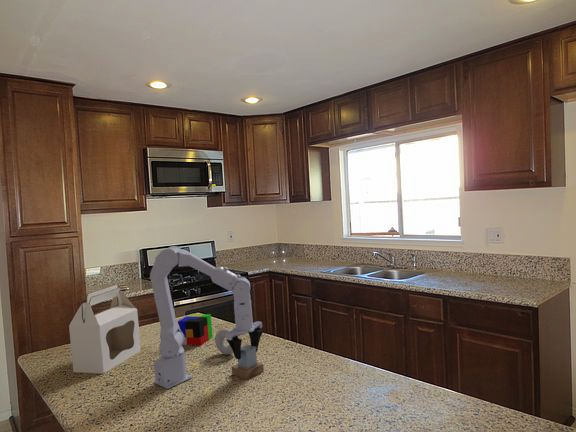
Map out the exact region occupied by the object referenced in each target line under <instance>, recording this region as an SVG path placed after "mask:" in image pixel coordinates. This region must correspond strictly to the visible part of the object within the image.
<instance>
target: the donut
mask: <svg viewBox="0 0 576 432" xmlns="http://www.w3.org/2000/svg"><path fill="white" fill-rule="evenodd" d="M231 330H232V329H230V328H227V327H226V328H225V327H224V328H221V329H220V330H218V331H217V333H216V335H215V338H214V339H215V341H214V342H215V346H216V348H217V350H218V351H219V352H220V353H221V354H223V355H226V356H229V355H232V354H233V355H234V353H233V350H232V348H231V346H230V345H229V344H228V345H227V344H226V342H225V339H226V333H228V332H230V331H231Z"/></svg>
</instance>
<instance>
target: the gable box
mask: <svg viewBox="0 0 576 432" xmlns="http://www.w3.org/2000/svg"><path fill="white" fill-rule="evenodd" d="M110 299H112V300H111V304H110V307H109V308H108V309H105V310H102V311H100V312H97V313H95V312H94V310H93V308H92V306H94V305H97V304H100V303H102V302H105V301H108V300H110ZM138 315H139V314H138V309H137V307H136V306H135V305H134V304H133V303H132V301H131V300H130V299H129V298H128V297H127V296H126V294H124V292H123V291H122V290H121V287H118V285H117V284H113V285H110V286H108V287H104V288H101V289H98V290H95V291H91V292H89V293H87V294H86V297H85V302H83V303H81V305H80V306H79V307H78V309H77V311H76V313H75V315H74V316H73V318H72V320H71V321H70V323H69V325H68V329H69V331H68V332H69V339H70V350H71V360H72V369H73V370H72V371H73V373H80V374H81V373H83V374H97V375H98V374H99V375H103V374H106V373H107V372H109V371H110V370H112V369H113V368H115V367H117V366H118V365H120V364H122V363H124V362H125V361H126V360H128V359H130V358H131V357H133V356H135V355H136V354H138V353H139V352H141V339H140V329H139V328H140V327H139V316H138Z"/></svg>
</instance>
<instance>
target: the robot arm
mask: <svg viewBox="0 0 576 432" xmlns="http://www.w3.org/2000/svg"><path fill="white" fill-rule="evenodd" d="M176 266H178V268H179V267H190V268H192V269H195V270H196V271H199V272H201V273H203V274H205V275H207V276H209V277H210V278H211V282H212V283H214V284H216V285H218V286H219V287H221V288H223V289H225V290H227V291H229V292H231V293H232V295H233V300H234V301H233V311H234V322H235V328H232V329H230V330H231V331H230V332H228V333H226V337H225V340H226V341H227V342H226V343H228V346H229V345H230V346H231V348H232V350H233V355H234V359H235V360H238V359H241V347H242V343H243V339H241V338H239V337H240V336H242V335H245V334H247V333H248V336H249V340H250V345H251V346H255V347H256V353H257V352H258V350H259V344H260V340H261V337H262V336H263V333H264V332H263V329H262V328H263V322H262V321H257V320H256V321H254V319H253V309H252V307H253V306H252V299H251V298H252V297H251V294H250V293H251V282H250V281H249V279H247V278H246V276H241V275H240V274H239V273H238V274H235V273H234V272H232V271H230V270H229V268H228V267H227V266H224V267H223V266H218V267H216V266H214V265H212V264H210V263H208V261H207V262H206V261H205V260H203V259H202V258H200V257H199V256H197V255H195V254H193V253H191V251H188V250H186V249H182V248H181V247H180V246H178V245H171V246H169V247H167V248H166V249H163V250H161V251H160V252H159V253H158V254H157V255H156V257H155V258H154V262H153V266H152V268H151V269H150V273H149V278H150V282H151V286H152V292H153V297H154V301H155V306H156V311H157V315H158V320H159V324H160V331H159V339H160V340H159V341H160V343H159V347H158V348H159V352H160V354H161V356H160V357H159V358H157V359H155V361H154V363H153V366H154V379H155V381H154V384H156V385H159V386H161V387H162V388H164V389H170V388H172V387H175V386H177V385H179V384H182V383H183V382H186V381H188V380H190V379H192V378H193V376H192V375H189V374H188V373H187V368H186V367H187V366H186V355H185V349H184V348H183V345H182V344H183V342H184V339H185V338H184V334H183V333H182V331H181V330H180V327H179V325H178V321H177V318H176V313H175V310H174V304H173V300H172V294H171V290H170V285H169V280H168V275H169V274H170V273H171V271H172V270H173V268H174V267H176ZM253 321H254V322H253Z"/></svg>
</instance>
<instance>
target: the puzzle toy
mask: <svg viewBox="0 0 576 432" xmlns="http://www.w3.org/2000/svg"><path fill="white" fill-rule="evenodd" d="M177 323H178V325H179V327H180V330H181V331H182V333H183V334H184V338H185V339H184V342H183V344H182V346H202V345H204V344H206V343H207V342H208V341H209V340H211V339H212V338H213V324H212V314H208V313H207V314H204V313H203V314H201V313H197V314H196V313H191V314H189V315H186V316H185V317H182V318H181V319H179V320H177Z"/></svg>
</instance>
